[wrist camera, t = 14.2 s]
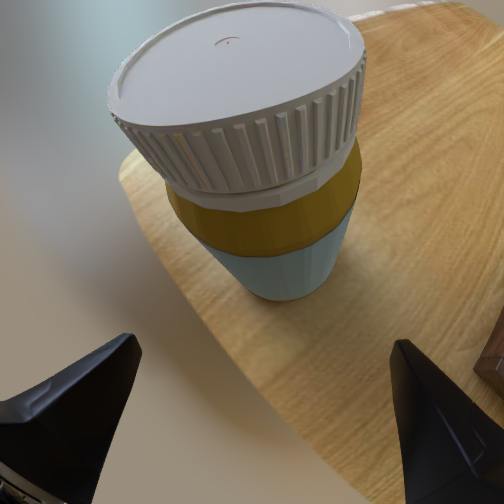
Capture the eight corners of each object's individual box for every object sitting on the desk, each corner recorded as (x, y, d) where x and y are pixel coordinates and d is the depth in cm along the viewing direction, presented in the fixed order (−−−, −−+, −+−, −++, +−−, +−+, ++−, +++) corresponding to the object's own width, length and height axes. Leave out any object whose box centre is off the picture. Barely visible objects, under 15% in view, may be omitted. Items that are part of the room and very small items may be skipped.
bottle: (274, 190, 20) (224, -8, 6) (354, 242, 18) (422, 32, 4) (213, 261, 19) (60, 105, 5) (292, 324, 17) (237, 234, 3)
